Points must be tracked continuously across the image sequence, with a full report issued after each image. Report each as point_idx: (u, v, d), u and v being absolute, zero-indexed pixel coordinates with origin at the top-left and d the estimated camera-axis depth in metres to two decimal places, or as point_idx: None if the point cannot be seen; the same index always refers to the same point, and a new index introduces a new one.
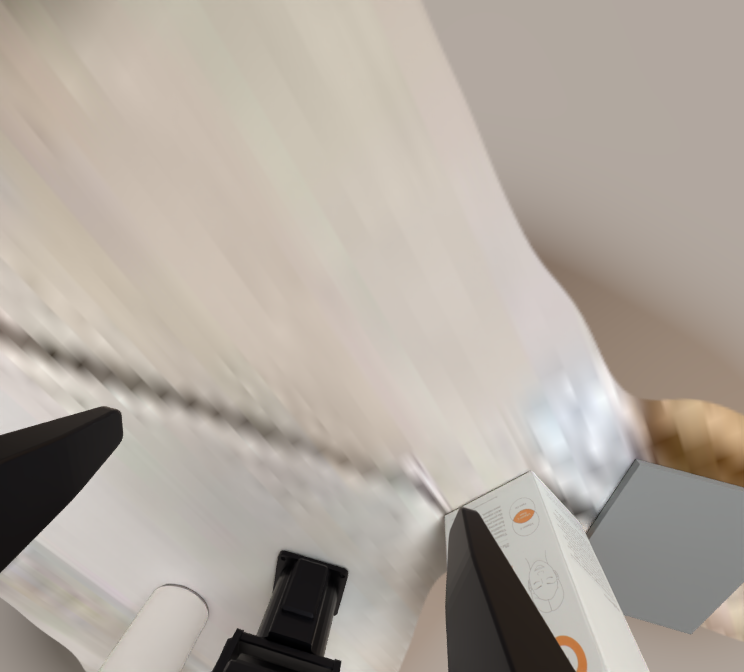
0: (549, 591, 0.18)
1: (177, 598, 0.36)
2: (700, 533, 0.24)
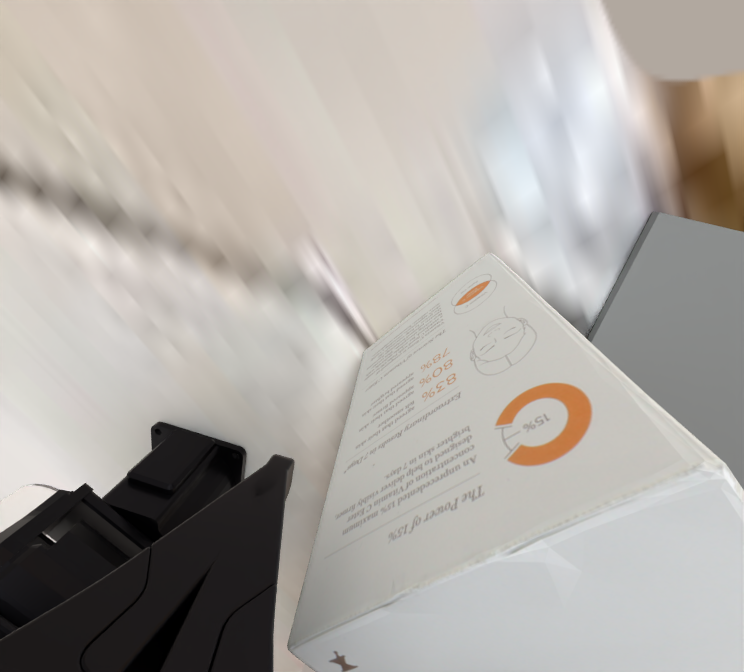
0: (509, 344, 0.09)
1: (36, 497, 0.27)
2: None
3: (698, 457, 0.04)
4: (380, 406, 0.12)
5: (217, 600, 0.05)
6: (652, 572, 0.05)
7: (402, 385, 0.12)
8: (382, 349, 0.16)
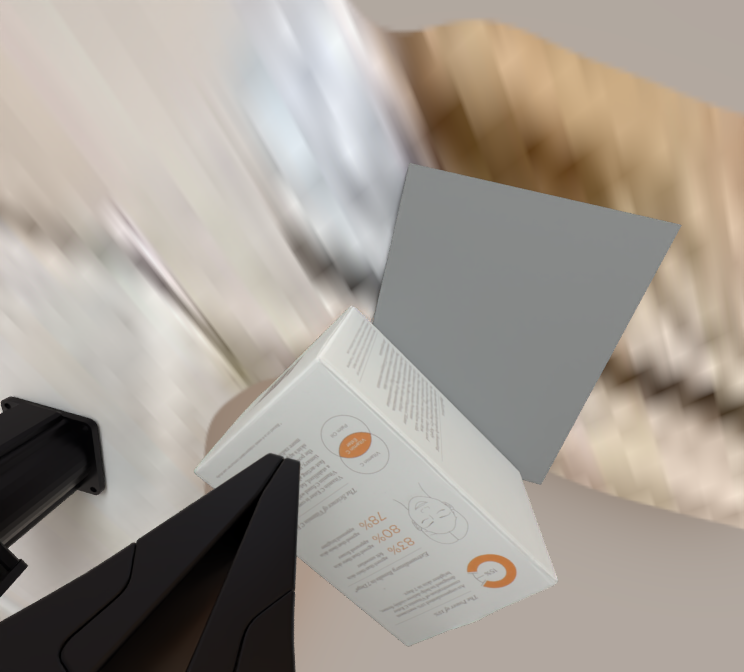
0: (447, 523, 0.13)
1: None
2: (521, 294, 0.16)
3: (553, 582, 0.14)
4: (340, 551, 0.15)
5: (236, 605, 0.05)
6: None
7: (350, 538, 0.14)
8: None
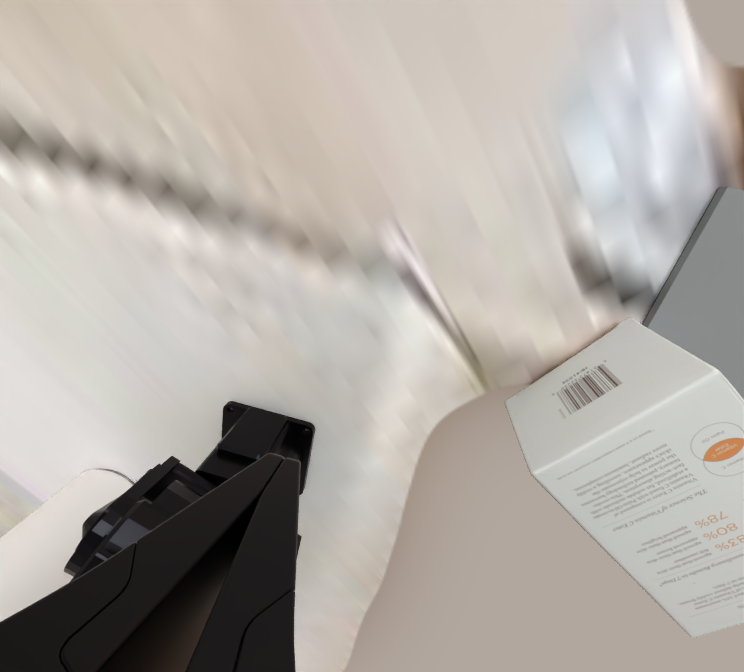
0: None
1: (102, 480, 0.28)
2: None
3: None
4: (661, 548, 0.16)
5: (236, 606, 0.05)
6: None
7: (679, 535, 0.15)
8: (591, 486, 0.15)
